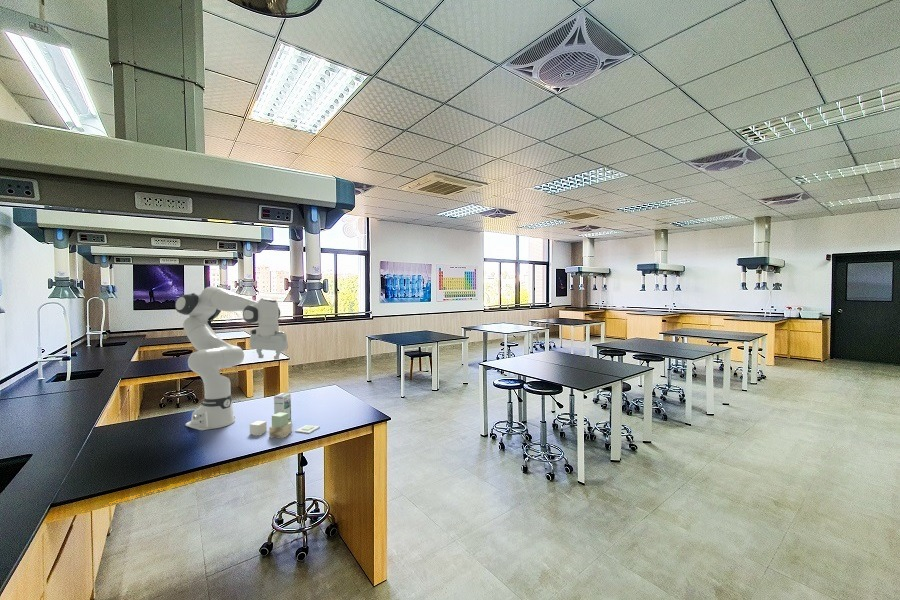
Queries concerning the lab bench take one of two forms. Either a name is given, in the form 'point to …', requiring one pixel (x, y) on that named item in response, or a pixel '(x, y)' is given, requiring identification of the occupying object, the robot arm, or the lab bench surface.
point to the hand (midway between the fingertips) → (268, 358)
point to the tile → (307, 429)
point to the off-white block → (258, 427)
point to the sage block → (279, 419)
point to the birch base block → (280, 430)
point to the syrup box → (283, 404)
